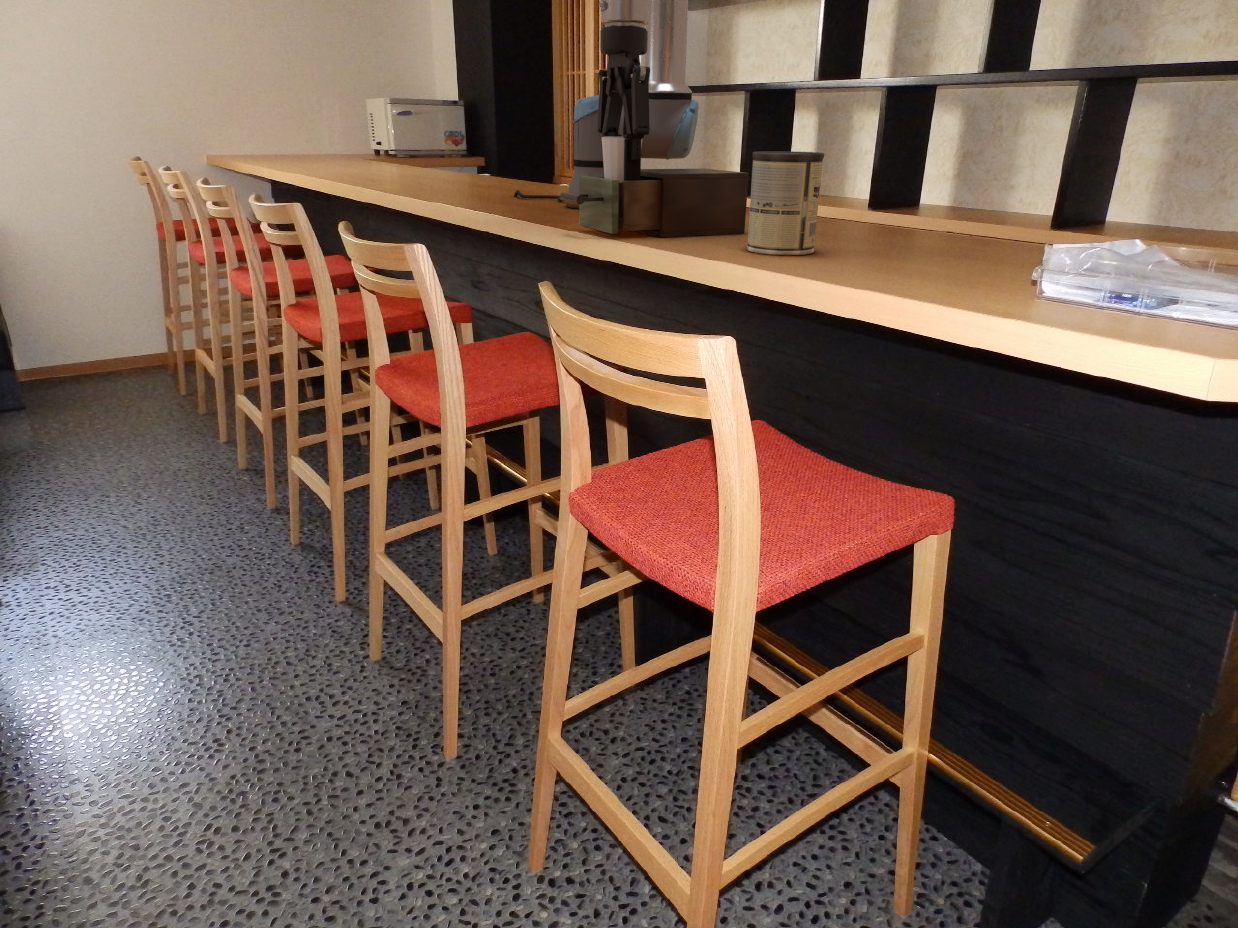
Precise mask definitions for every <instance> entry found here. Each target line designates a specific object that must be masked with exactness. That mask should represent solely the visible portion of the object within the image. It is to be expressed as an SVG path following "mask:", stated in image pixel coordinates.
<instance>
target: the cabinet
mask: <svg viewBox="0 0 1238 928" xmlns="http://www.w3.org/2000/svg"><path fill="white" fill-rule="evenodd" d="M749 174H750V173H749V172H744V171H743V172H742V171H734V170H733V171H732V170H724V169H712V168H641V176H645V177H652V178H660V179H662V194H661V224H660V229H655V230H633V231H634V232H638V233H641V234H647V235H651V236H654V237H659V238H662V239H664V238H680V237H683V238H684V237H703V236H723V235H744V234H745V233H746V232H745V229H746V219H747V217H746V216H747V205H748V204H747V203H748V190H749V189H748V188H749Z"/></svg>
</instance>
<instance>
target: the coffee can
mask: <svg viewBox="0 0 1238 928" xmlns="http://www.w3.org/2000/svg"><path fill="white" fill-rule="evenodd" d="M824 158H825V152H819V151H818V152H817V151H816V152H815V151H791V150H790V151H788V150H785V151H783V150H779V151H777V150H776V151H775V150H773V151H772V150H770V151H768V150H767V151H766V150H763V151H762V150H761V151H759V150H758V151H752V167H751V168H752V169H751V182H750V183H751V184H750V201H749V215H748V227H747V229H748V231H747V243H746V250H747V251H748V252H751V253H756V254H762V255H771V256H772V255H773V256H806V255H811V254H813V253H814V252H815V243H816V233H817V224H818V223H817V222H818V213H819V212H818V211H819V202H820V191H821V181H822V172H823V161H824Z"/></svg>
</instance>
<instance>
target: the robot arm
mask: <svg viewBox="0 0 1238 928" xmlns="http://www.w3.org/2000/svg"><path fill="white" fill-rule="evenodd" d="M598 7H599V8H600V23H601V24H602V25H604V26H603V27H602V28H601V29H600V33H599V35H600V37H599V41H600V42H599V45H600V46H599V50H600V53H601V54H603V55H607V56H608V59H607V64H606V65H607V66H606V69H599V70H598V82H599V88H598V89H599V90H598V95H592V96H586V97H582V98H579V99H578V100H577V101H576V102H575V104H574V110H573V112H574V113H573V120H572V124H573V160H574V161H573V173H572V176H571V180H570V183H569V186H568V190H567V193H571V194H579V176H580V175H586V176H593V177H604V164H603V150H602V137H605V136H616V137H624V181H640V176H641V169H642V168H641V167H642V159H655V160H656V159H658V160H667V161H669V160H675V159H676V160H680V159H685V158H686V157H688V156H689V155H690V154H691V151H692V148H693V145H694V141H695V136H696V130H697V125H698V117H699V102H698V101H697V100H695V99H693V91H692V90H691V88H690V87H689V86H688V85H687V83H686V74H687V73H686V70H687V43H688V19H689V18H688V16H689V0H600V1H599V2H598ZM640 56H644V66H643V65H641V60H640ZM641 140H642V148H641ZM518 196H519V197H520V198H521V199H527V200H529V199H531V200H534V199H537V200H540V199H541V200H544V199H545V200H549V199H550V200H557V201H558V202H563V201H562V200H561V199H560V195H557V194H555V195H554V194H524V193H522V192H521V191H520V190H519V189H516V190H515V192H514V194H513V197H514V198H517V197H518ZM565 206H566V208H569V209H570V208H571V209H578V210H579V204H576V203H571V202H566V201H565Z"/></svg>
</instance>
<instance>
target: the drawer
mask: <svg viewBox="0 0 1238 928" xmlns="http://www.w3.org/2000/svg"><path fill="white" fill-rule="evenodd" d="M661 194H662V179H660V178H652V177H645V176H640V181H622V183H619V180H614V179H607V178H604V177H593V176H586V175H580V176H579V194H571V193H568V192H565V191H563V192H560V194H559V196H560V199H561V200H562V201H561V202H565V203H566V202H571V203H576V204H579V209H578V214H579V215H578V221H579V222H578V225H579V226H581V227H584V228H588V229H591V230H596V231H600V232H603V233H607V234H612V235H615V234H616V235H617V234H619V231H623V232H627V231H628V232H630V231H634V230H655V229H660V224H661Z"/></svg>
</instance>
